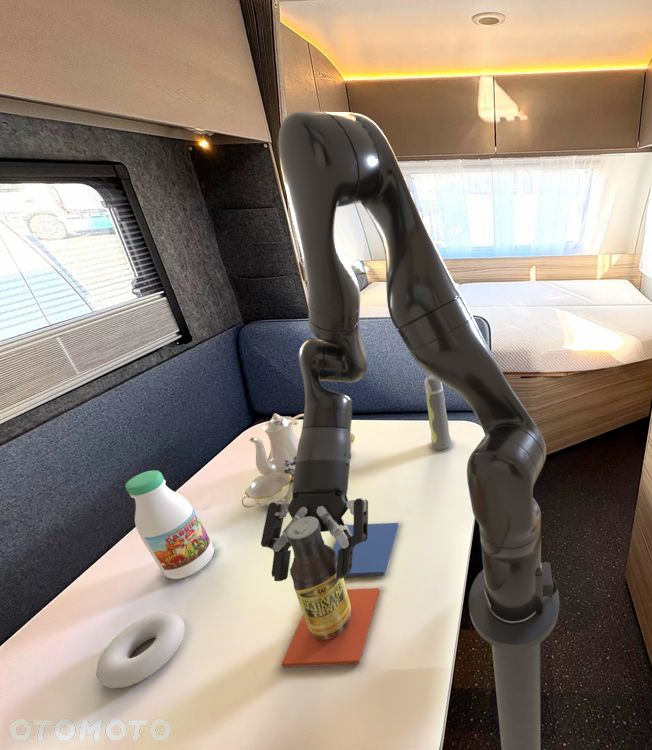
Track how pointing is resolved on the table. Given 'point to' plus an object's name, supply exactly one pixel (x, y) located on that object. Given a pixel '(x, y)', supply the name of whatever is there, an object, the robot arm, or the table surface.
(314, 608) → the sauce bottle
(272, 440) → the chinaware
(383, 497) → the table surface
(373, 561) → the slate-blue mat
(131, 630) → the donut
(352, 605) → the terracotta mat
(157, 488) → the milk bottle
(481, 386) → the robot arm
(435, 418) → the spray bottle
